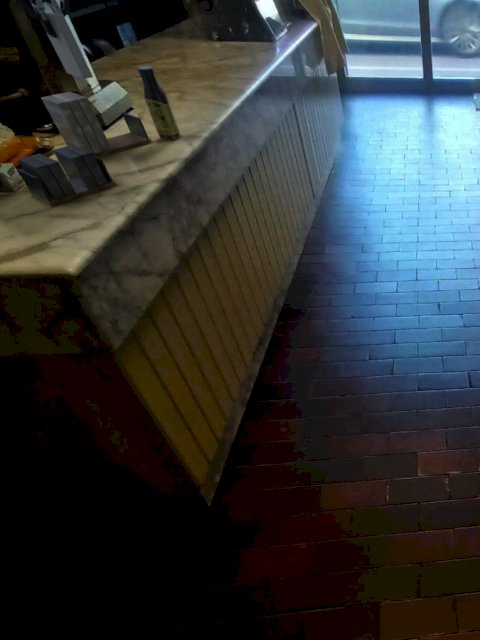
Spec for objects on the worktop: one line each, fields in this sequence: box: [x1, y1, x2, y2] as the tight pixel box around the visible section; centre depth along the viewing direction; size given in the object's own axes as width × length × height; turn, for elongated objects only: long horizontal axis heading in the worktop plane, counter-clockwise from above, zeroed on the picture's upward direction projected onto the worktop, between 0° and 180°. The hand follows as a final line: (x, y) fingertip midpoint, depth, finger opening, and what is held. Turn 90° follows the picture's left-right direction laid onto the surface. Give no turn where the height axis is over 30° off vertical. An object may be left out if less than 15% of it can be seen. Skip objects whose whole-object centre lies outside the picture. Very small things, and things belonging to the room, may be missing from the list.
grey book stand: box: [40, 91, 152, 158], centre depth 152 cm, size 20×10×15 cm, turn 148°
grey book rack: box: [16, 145, 117, 207], centre depth 132 cm, size 16×10×9 cm, turn 148°
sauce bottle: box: [136, 65, 181, 141], centre depth 158 cm, size 7×6×20 cm
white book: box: [45, 10, 94, 80], centre depth 136 cm, size 2×9×14 cm, turn 58°
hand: (60, 36), depth 134 cm, fingers closed on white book, 2 cm apart
